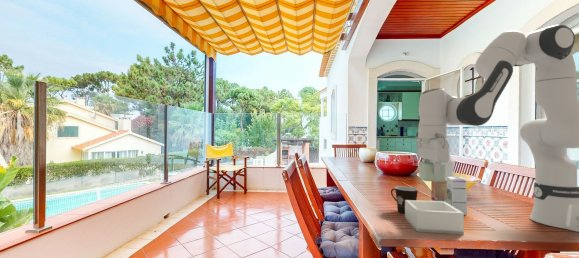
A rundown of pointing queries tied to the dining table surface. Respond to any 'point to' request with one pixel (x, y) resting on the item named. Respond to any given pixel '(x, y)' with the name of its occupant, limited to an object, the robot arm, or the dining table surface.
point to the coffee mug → (404, 196)
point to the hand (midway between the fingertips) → (431, 172)
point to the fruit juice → (442, 183)
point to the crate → (434, 217)
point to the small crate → (431, 172)
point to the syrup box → (457, 193)
